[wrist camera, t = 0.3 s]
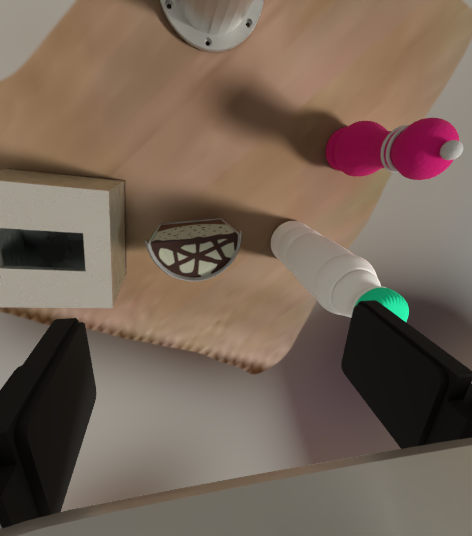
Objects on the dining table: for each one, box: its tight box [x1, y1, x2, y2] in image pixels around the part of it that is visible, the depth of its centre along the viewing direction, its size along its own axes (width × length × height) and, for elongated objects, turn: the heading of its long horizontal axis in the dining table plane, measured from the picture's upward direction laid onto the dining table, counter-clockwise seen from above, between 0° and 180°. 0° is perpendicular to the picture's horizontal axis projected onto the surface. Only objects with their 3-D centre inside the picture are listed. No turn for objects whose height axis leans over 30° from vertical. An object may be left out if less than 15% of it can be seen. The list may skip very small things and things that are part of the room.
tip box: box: [0, 169, 126, 308], centre depth 36 cm, size 14×14×11 cm
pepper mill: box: [326, 118, 463, 180], centre depth 36 cm, size 7×7×20 cm
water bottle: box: [271, 221, 409, 322], centre depth 37 cm, size 7×7×25 cm
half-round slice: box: [145, 218, 242, 281], centre depth 41 cm, size 12×6×10 cm, turn 93°
